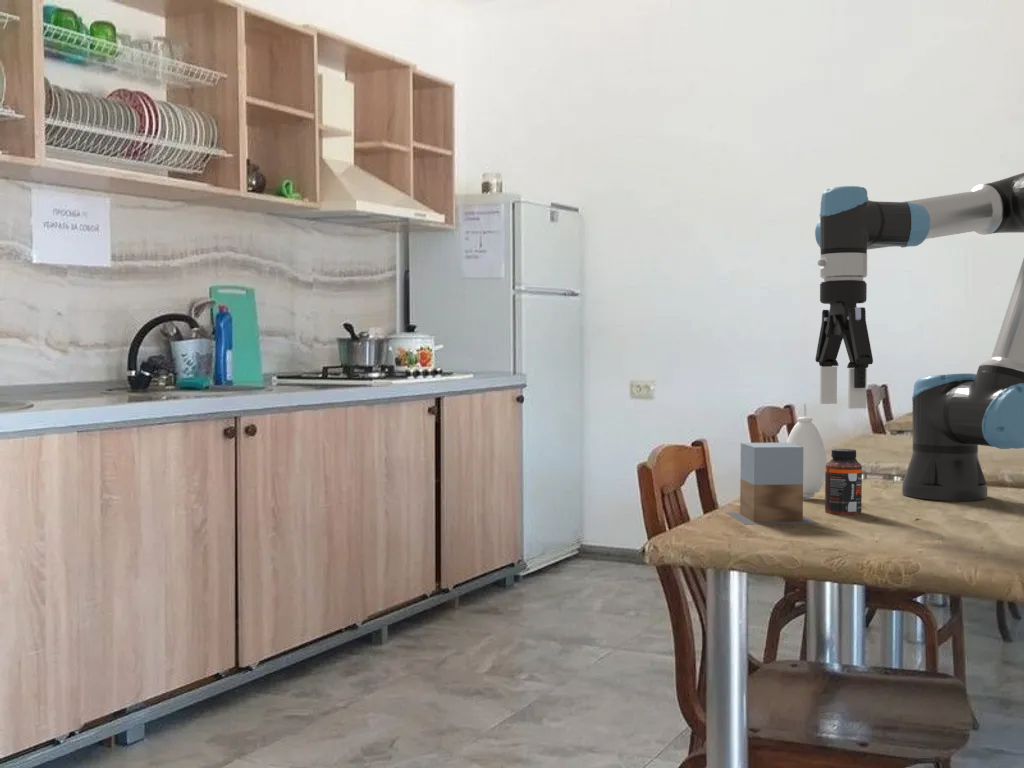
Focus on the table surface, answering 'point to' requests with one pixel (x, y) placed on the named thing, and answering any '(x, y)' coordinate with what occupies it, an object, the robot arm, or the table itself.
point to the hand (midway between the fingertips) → (842, 406)
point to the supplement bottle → (843, 483)
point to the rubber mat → (749, 522)
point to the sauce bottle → (810, 454)
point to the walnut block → (771, 502)
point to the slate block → (771, 463)
